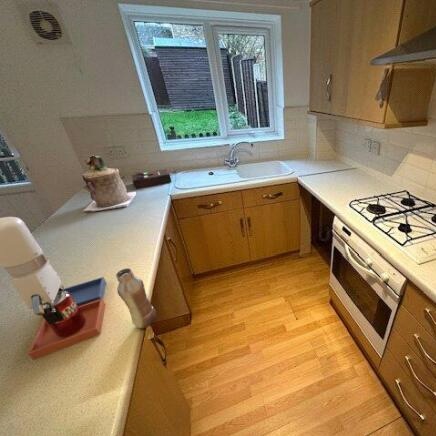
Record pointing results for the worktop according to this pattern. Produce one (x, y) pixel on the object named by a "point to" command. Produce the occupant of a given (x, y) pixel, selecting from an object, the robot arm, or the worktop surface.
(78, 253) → the worktop surface
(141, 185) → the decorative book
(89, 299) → the blue tray
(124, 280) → the plastic bottle
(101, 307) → the terracotta tray
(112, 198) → the cookie jar
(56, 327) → the soda can
